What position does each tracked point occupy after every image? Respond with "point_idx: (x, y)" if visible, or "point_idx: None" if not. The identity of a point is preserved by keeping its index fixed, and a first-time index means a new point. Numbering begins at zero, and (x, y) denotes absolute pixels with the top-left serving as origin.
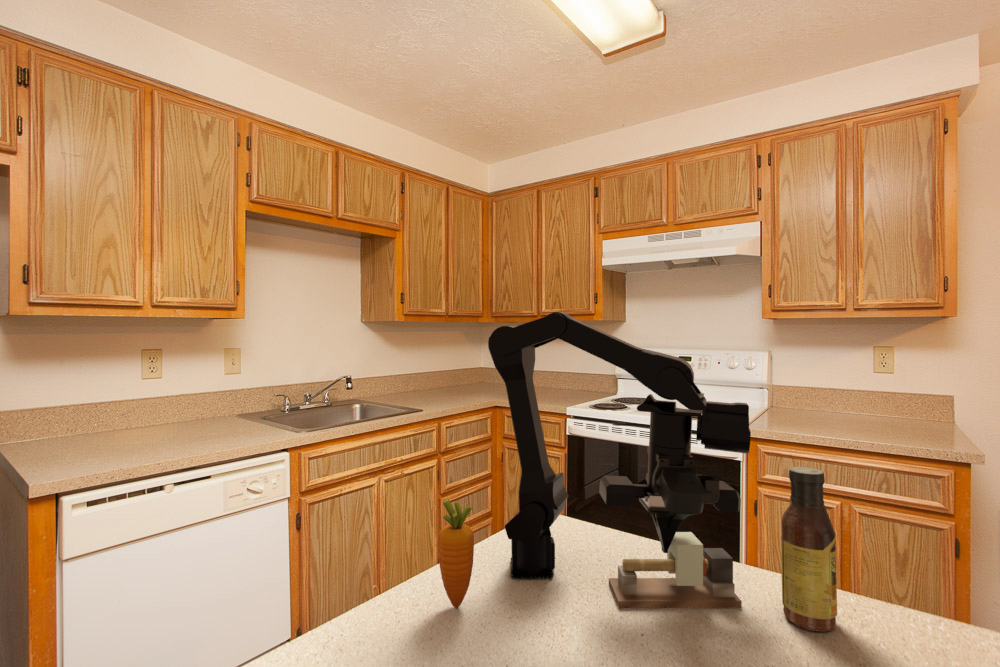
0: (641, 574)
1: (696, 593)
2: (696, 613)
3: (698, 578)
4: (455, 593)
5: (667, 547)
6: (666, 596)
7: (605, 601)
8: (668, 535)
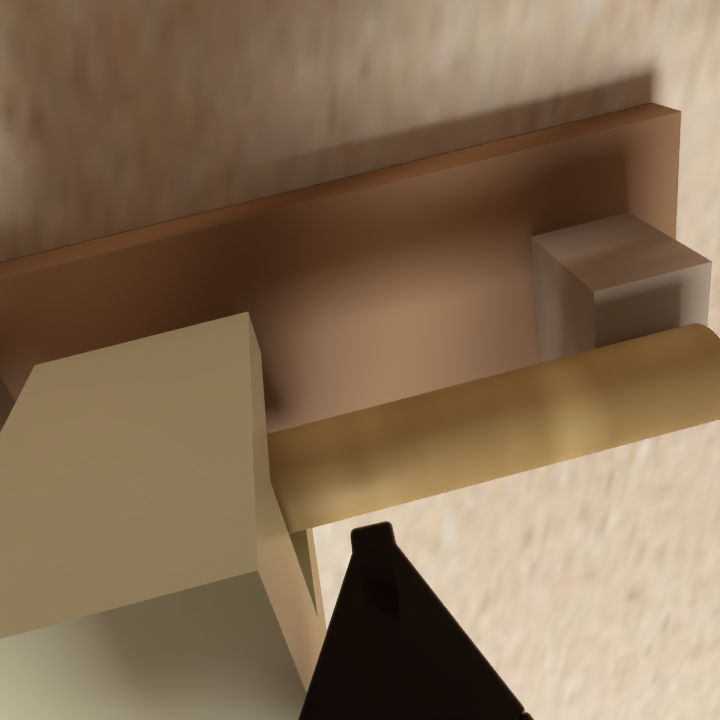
0: (434, 528)
1: None
2: (114, 167)
3: (59, 387)
4: None
5: (364, 569)
6: (325, 263)
7: (713, 176)
8: (389, 696)
